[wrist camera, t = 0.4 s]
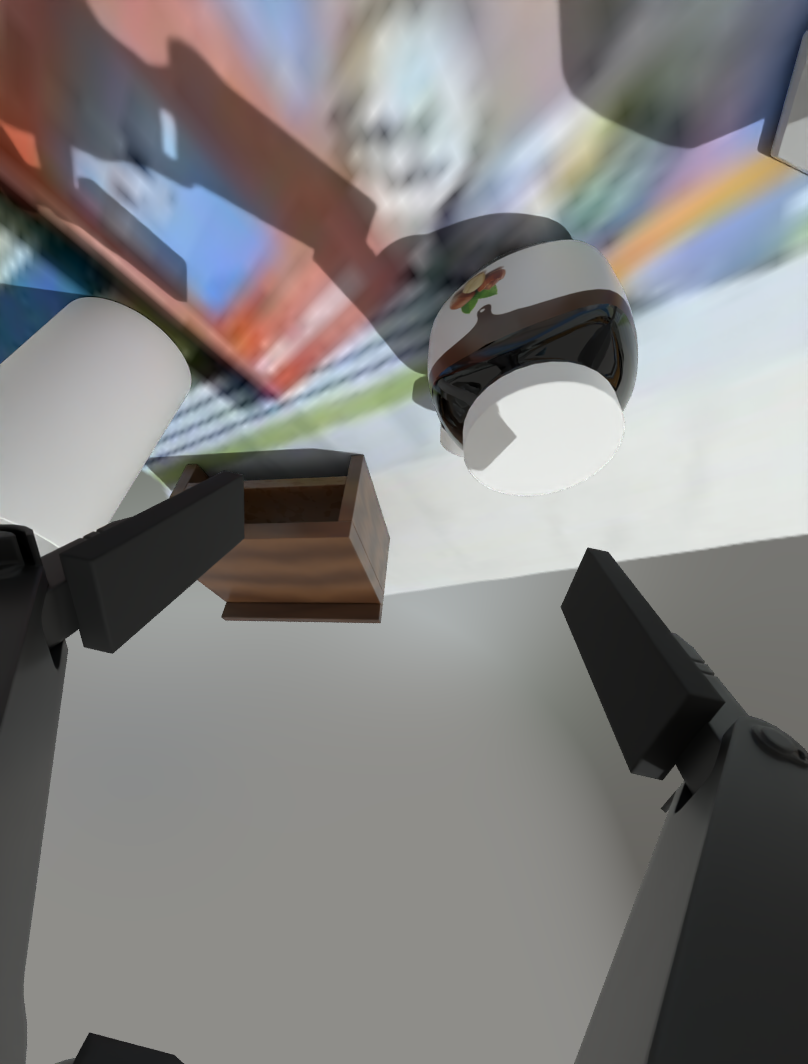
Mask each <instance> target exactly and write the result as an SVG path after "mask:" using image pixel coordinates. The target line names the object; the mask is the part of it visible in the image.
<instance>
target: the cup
mask: <svg viewBox="0 0 808 1064" xmlns="http://www.w3.org/2000/svg"><path fill="white" fill-rule="evenodd" d="M190 388H191V373H190V370H189V367H188V364H187V362H186V360H185V358H184V356H183V355H182V353H181V351H180V350H179V349H178V347H177V346H176V345H175V343H174V342H173V341H172V340H171V339H170V338H169V337H168V336H167V335H166V334H165V333H164V332H163V331H162V330H161V329H160V328H159V327H158V326H156V325H155V324H154V323H153V322H151V321H150V320H149V319H147V318H146V317H144V316H143V315H141V314H140V313H138V312H136V311H134V310H133V309H131V308H129V307H127V306H124V305H122V304H120V303H117V302H114V301H111V300H107V299H103V298H97V297H84V298H79V299H76V300H74V301H72V302H70V303H69V304H68V305H67V306H66V307H64V308H63V309H62V310H61V311H60V312H59V313H58V314H57V315H55V316H54V317H53V318H52V319H51V320H50V321H49V322H48V323H46V324H45V325H44V326H43V327H42V328H41V329H40V330H38V331H37V332H36V333H35V334H34V335H33V336H32V337H31V338H29V339H28V340H27V341H26V342H25V343H24V344H23V345H22V346H20V347H19V348H18V349H17V350H16V351H15V352H14V353H12V354H11V355H10V356H9V357H8V358H7V359H6V360H5V361H3V362H2V363H1V364H0V524H15V525H22V526H26V527H28V528H30V529H32V530H33V533H34V536H35V539H36V543H37V546H38V549H39V553H40V556H41V557H42V556H44V555H46V554H48V553H50V552H52V551H54V550H56V549H58V548H60V547H62V546H64V545H66V544H68V543H70V542H72V541H74V540H76V539H78V538H83V536H85V535H87V534H89V533H91V532H93V531H95V532H96V530H97V529H99V528H101V527H103V526H105V525H107V524H108V523H109V521H110V520H111V518H112V516H113V515H114V513H115V512H116V510H117V508H118V507H119V505H120V503H121V502H122V500H123V499H124V497H125V495H126V494H127V492H128V490H129V489H130V487H131V486H132V484H133V482H134V480H135V479H136V477H137V476H138V474H139V473H140V471H141V469H142V468H143V466H144V464H145V463H146V461H147V460H148V458H149V456H150V455H151V453H152V451H153V450H154V448H155V447H156V445H157V443H158V442H159V440H160V438H161V437H162V435H163V434H164V432H165V430H166V429H167V427H168V425H169V424H170V422H171V421H172V419H173V417H174V416H175V414H176V412H177V411H178V409H179V407H180V406H181V404H182V403H183V401H184V399H185V398H186V396H187V394H188V393H189V391H190Z"/></svg>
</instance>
